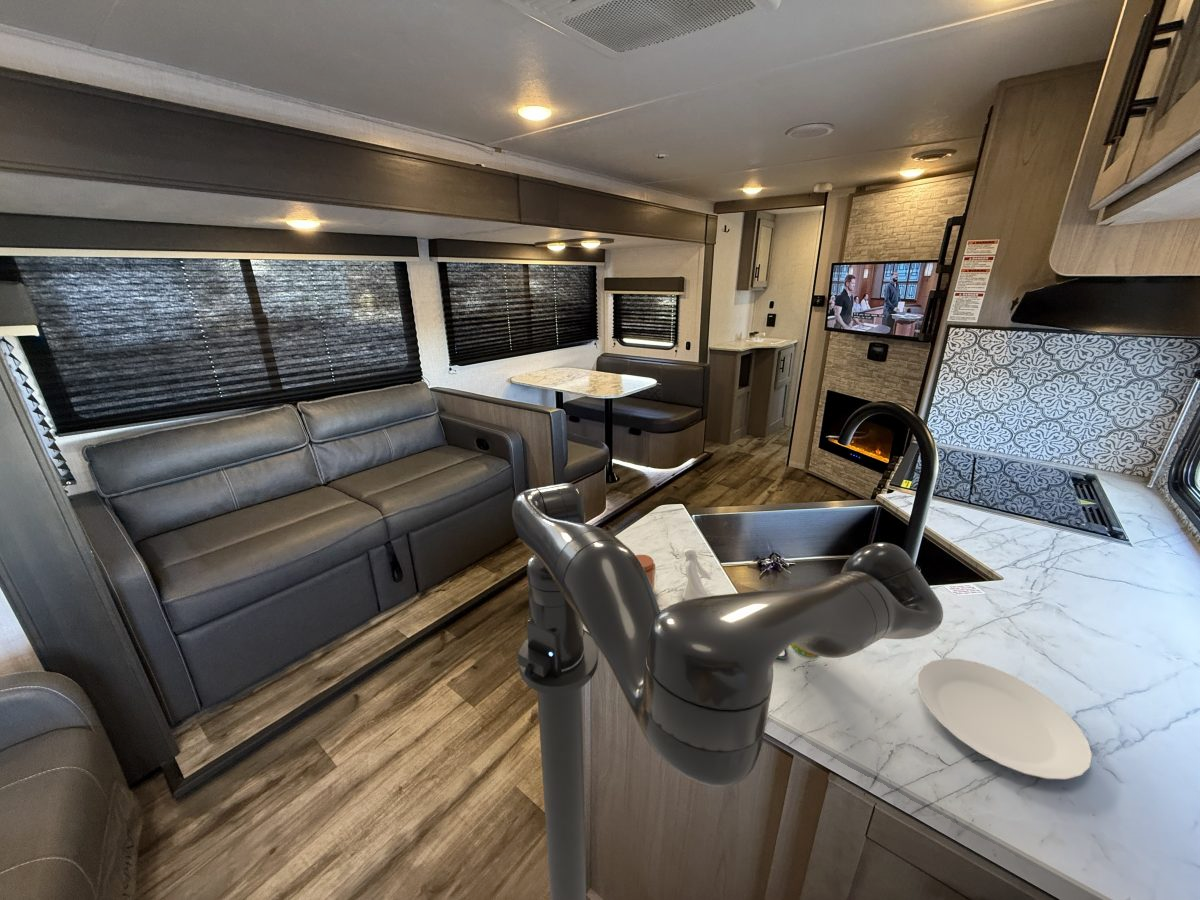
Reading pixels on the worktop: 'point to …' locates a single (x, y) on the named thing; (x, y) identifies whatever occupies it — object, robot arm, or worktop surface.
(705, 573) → the figurine
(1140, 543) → the worktop surface
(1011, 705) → the plate
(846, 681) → the worktop surface
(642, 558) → the jar
